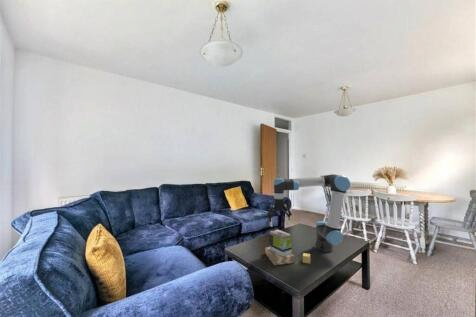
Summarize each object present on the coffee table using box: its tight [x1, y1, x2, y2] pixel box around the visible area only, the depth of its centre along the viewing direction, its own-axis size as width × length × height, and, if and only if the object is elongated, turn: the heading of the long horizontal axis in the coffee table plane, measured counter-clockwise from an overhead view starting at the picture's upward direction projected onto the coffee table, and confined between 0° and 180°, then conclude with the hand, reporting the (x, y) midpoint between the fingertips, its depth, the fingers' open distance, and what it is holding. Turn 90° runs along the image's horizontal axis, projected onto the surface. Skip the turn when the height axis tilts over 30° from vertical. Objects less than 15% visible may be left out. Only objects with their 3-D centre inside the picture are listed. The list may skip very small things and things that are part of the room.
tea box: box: [268, 229, 293, 257], centre depth 160 cm, size 15×10×15 cm
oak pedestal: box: [264, 246, 296, 266], centre depth 161 cm, size 16×19×5 cm
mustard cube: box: [302, 252, 311, 265], centre depth 155 cm, size 5×5×5 cm
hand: (279, 225), depth 161 cm, fingers open, 13 cm apart
